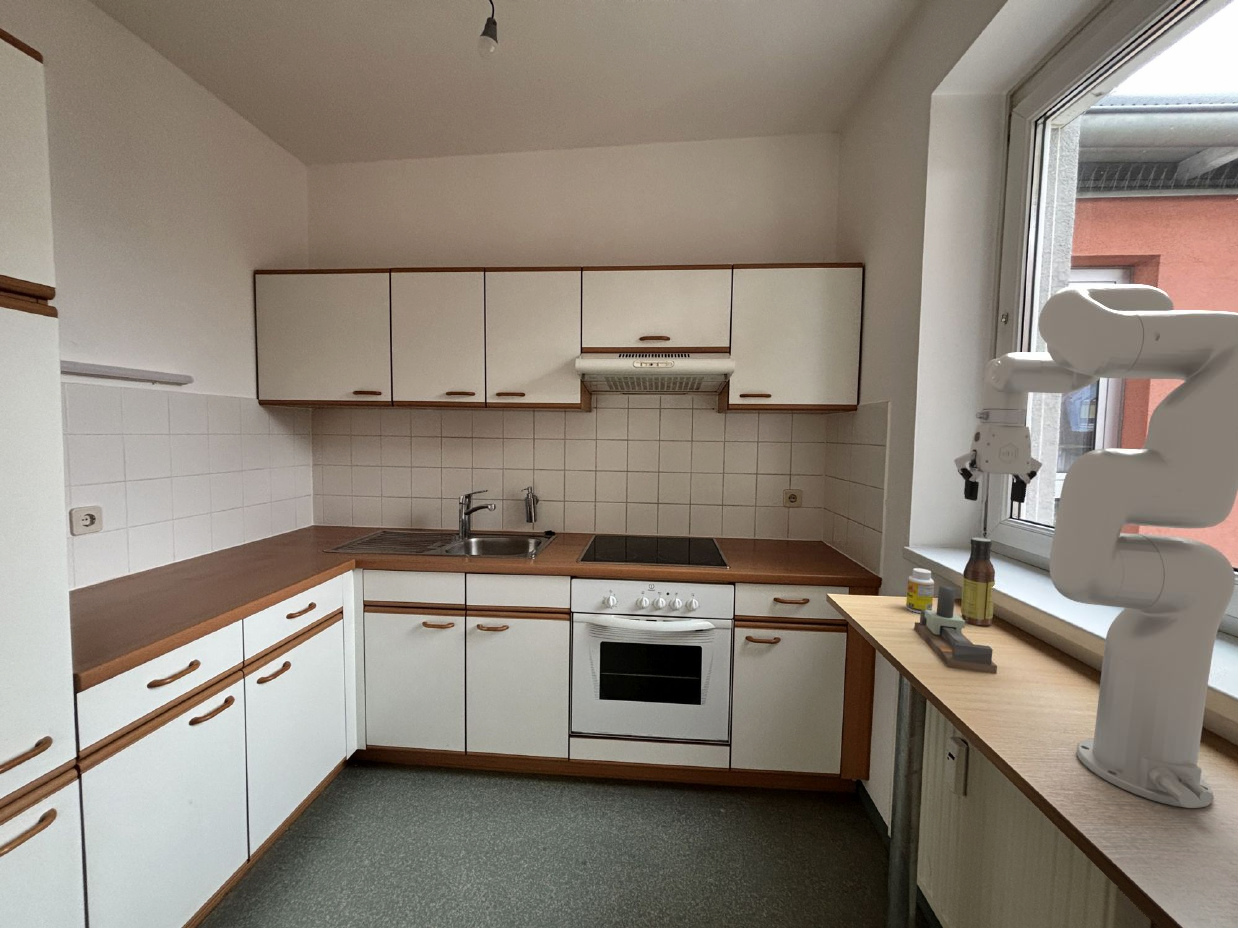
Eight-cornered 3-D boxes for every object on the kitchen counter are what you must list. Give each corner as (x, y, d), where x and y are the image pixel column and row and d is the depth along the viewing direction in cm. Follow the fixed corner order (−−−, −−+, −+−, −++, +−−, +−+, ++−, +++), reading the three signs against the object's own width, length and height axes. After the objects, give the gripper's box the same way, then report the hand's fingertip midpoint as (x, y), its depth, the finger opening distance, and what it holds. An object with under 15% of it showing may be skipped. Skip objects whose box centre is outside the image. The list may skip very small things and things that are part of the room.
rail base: (996, 673, 98) (998, 649, 98) (948, 667, 100) (950, 644, 99) (953, 633, 117) (955, 613, 117) (914, 628, 119) (916, 608, 119)
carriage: (963, 637, 110) (967, 592, 109) (931, 633, 111) (935, 589, 111) (954, 628, 115) (958, 585, 114) (923, 625, 116) (927, 582, 116)
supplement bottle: (904, 605, 135) (907, 565, 134) (928, 608, 133) (932, 568, 132) (907, 612, 130) (911, 571, 129) (933, 616, 128) (937, 574, 127)
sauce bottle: (982, 618, 128) (990, 537, 127) (997, 628, 122) (1006, 542, 120) (953, 616, 129) (961, 535, 127) (967, 625, 122) (976, 540, 121)
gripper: (972, 417, 106) (963, 501, 108) (1059, 421, 106) (1049, 505, 107) (949, 417, 114) (941, 496, 115) (1031, 420, 113) (1022, 499, 115)
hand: (993, 500), depth 111 cm, fingers open, 9 cm apart
